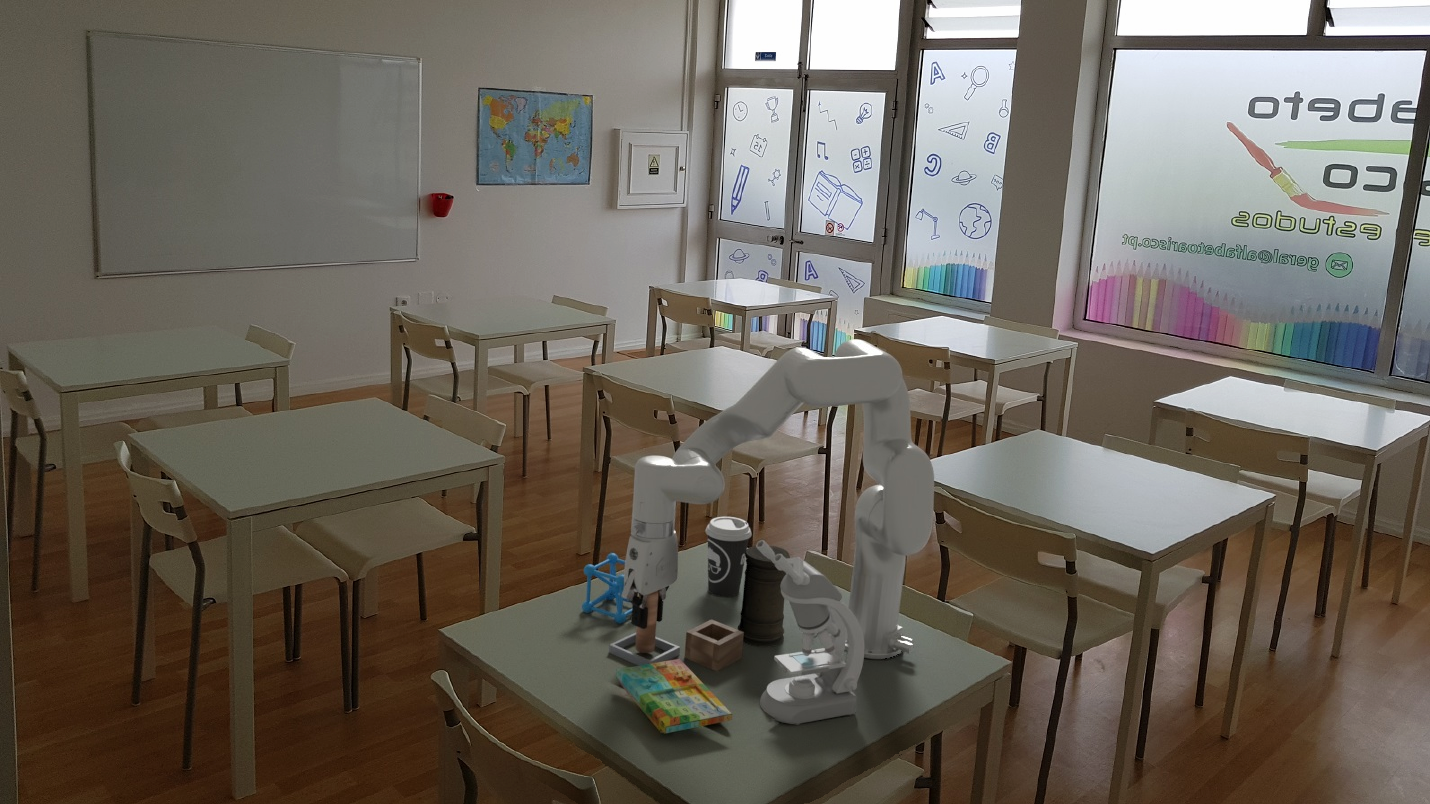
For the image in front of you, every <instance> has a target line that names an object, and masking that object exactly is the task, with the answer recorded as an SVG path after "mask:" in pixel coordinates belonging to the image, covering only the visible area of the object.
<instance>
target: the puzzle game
mask: <svg viewBox="0 0 1430 804" xmlns="http://www.w3.org/2000/svg"><path fill="white" fill-rule="evenodd" d="M615 671H616V673H615V677H616V679H617V680H618V681H617V682H619V684H620V685H621V686H622V688H623V689H624V691H625V692H626V693H627V694H628V696H629V697H630V698H631V699H632V701H634V703H635V704H636V705H637V706H638V708H640V709H641V711H642V712H643V713H644V714H645V717H647V718H648V719H649V720H650V722H651V723H652V724H653V725H654V726H655V727H656V729H657V730H658V731H659V732H660V734H671V733H674V732H678V731H679V732H680V731H685V730H688V729H694V728H699V727H704V726H709V725H714V724H719V723H725V722H729V721H732V720H733V713H732V712H731V711H730V710H729V709H728V708H727V707H726V706H725V705H724V704H723V702H721V701H720V699H718V697H717V696H716V695H715V694H714V693H713V692H712V691H711V690H710V689H709V688H708V687H707V685H705V684H704V683H703V682H702V680H700V678H699V677H697V676H696V674H695V673H694V672H693V671H692V670H691V669H690V668H689V666H687V665H686V663H684V662H683V661H682V659H680V658H676V659H670V660H668V661H664V662H658V663H652V664H646V665H640V666H638V665H635V666H630V667H629V666H628V667H623V668H617V669H616V670H615Z"/></svg>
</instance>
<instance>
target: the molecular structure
mask: <svg viewBox="0 0 1430 804" xmlns="http://www.w3.org/2000/svg"><path fill="white" fill-rule="evenodd" d="M617 563H618V564H621V565H624V566H625V560H623V559H620V558H619V556H618V555H617V554H616V553H614V552H610V553H609V554H608V555H607V556H606V559H605V560H604V561H602V562H599V563H598V564H595V565H593V564H591V563H590V564H587V565H585V566H584V568H583V573H584V575H585V576H587V577H586V578H587V579H586V581H587V582H586V583H587V584H586V597H585V598H586V599H585V600H584V602H582V604H581V609H582V611H583V612H584V613H587V614H588V613H589V612H590V613H592V611H593V612H597V613H599V614H602V615H606V616H609V617H611V618H613V620H614V622H615V623H616V624H623V623H625V622H626V619H627V617H628V616H629V615H630V614H631V615H632V608H631V609H628V610H627V611H625V612H624V611H623V606H624V603H623V602H626V603H629V604H630V601H629V600H627V599H625V598H622V596H621V595H622V592H623V590H624V587H625V586H624V573H623V574H619V575H617V570H616V564H617ZM608 564H609V573H605V572H603V571H600V570H598V569H599V568H601V567H603V566H605V565H608ZM593 576H595V577H596V578H597V579H599V580H601V581H602V582H603V583H605V584H606V585H608V589H606V590H605V592H604V593H603V594H601V595H600V596H599V597H597V598H596V599H594V600H593V601H591V588H592V587H591V586H592V577H593ZM605 600H607V601H613V600H615V604H616V612H615V613H613V612H611V611H608V610H605V609H601V608H598V607H596V605H597V604H599V603H601V602H603V601H605Z"/></svg>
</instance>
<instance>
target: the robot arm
mask: <svg viewBox="0 0 1430 804" xmlns="http://www.w3.org/2000/svg"><path fill="white" fill-rule="evenodd" d="M804 404H805V405H807V406H810V407H816V408H817V407H820V408H825V407H826V408H828V407H829V408H830V407H839V406H850V405H860V404H862V405H861V406H862V413H863V414H862V415H863V439H862V440H863V441H862V442H863V444H862V445H863V446H862V463H863V468H864V471H865V473H866V474H868V476H869V478H871V479H872V480H874V481H875V482H876V483H877V484H876V485H875V484H874V485H872V486H870V487H868V488H866V489H865V490H864V491H863V492H862V493H861V494H860V496H859V497H858V499H857V501H856V505H855V509H854V510H855V512H854V526H855V527H854V528H855V545H854V557H853V558H854V559H853V565H852V567H853V568H852V576H851V583H850V593H849V602H848V608H849V609H850V610H851V611H852V613H853V614H854V616H855V617H856V619H857V621H858V623H859V625H860V627H861V630H862V633H863V638H864V658H865V659H871V660H884V659H885V658H887V659H891V658H890V657H892V658H894V657H893V656H895V655H897V654H899V655H900V654H902V652H903V653H906V654H909V655H911V654H912V653H913V651H914V649H915V645H914V642H915V640H914V639H913V638H911V637H907V636H904V635H903V633H902V632H903V626H901V625H899V615H900V609H901V607H900V606H901V599H902V592H903V582H904V574H905V568H906V556H907V557H908V556H909V557H910V556H912V555H915V554H917V553H919V552H920V551H922V550H923V548H924V547H926V545H927V544H928V542H929V540H930V537H931V534H932V530H933V523H934V522H933V521H934V520H933V519H934V501H935V499H934V497H935V491H934V490H935V473H934V467H933V464H932V462H931V459H930V457H929V455H928V454H927V453H926V452H925V451H924V450H923V449H922V448H920V447H919V446H918V445H917V444H915V443H914V442H913V440H912V427H911V426H912V425H911V424H912V422H911V421H912V420H911V416H912V415H911V399H910V395H909V391H908V387H907V385H906V382H905V379H904V378H903V369H902V366H901V365H900V362H899V361H898V360H897V359H896V358H895V357H894V356H893V355H892V354H890V353H888V352H886V351H884V350H882V349H880V348H878V347H877V346H875V345H873V344H872V343H870V342H868V341H865V340H863V339H858V338H857V339H853V338H852V339H848V340H845V341H844V342H842V343H841V344H840V345H839V346H838V347H837V348H836V351H835V353H834V357H824V356H823V355H821V354H819V353H818V352H815V351H813V350H812V349H808V348H806V347H800V346H799V347H794V348H791V349H789V350H788V351H786V352H785V353H784V354H782V355H781V356H780V357H779V358H778V359H777V361H775V363H774V364H772V365H771V367H770V368H769V369H768V370H767V371H766V372H765V373H764V374H763V375H762V376H761V377H760V378H759V379H758V380H757V381H756V383H754V385H753V386H752V387H751V388H750V389H748V391H747V392H745V394H744V395H743V396H742V397H741V398H740V399H739V400H738V401H736V403H734V404H733V405H731V406H728V407H727V408H725V409H724V410H722V411H721V412H719V413H718V414H716V415H714V416H712V417H710V418H709V419H708V420H706V421H705V422H703V423H702V424H701V425H700V426H698V427H697V428H696V430H695V431H693V432H692V433H691V435H690V436H688V437H687V439H686V440H685V441H684V442H682V444H681V445H680V446H679V447H678V448H677V450H676V451H675V452H674V454H673V455H672V457H671V458H670V457H667V456H663V455H646V456H643V457H641V458H639V459H637V461H636V463H635V466H634V477H633V479H634V481H633V495H632V497H633V499H632V514H631V526H630V527H631V528H630V534H631V535H630V536H629V538H628V539H629V540H628V542H627V543H628V545H627V549H626V555H625V560H624V561H625V565H624V571H623V575H624V590H623V592H622V595H621V596H622V598H625V599H627V600H629V601H630V603H629V604H630V605H632V606H631V607H632V608H631V609H632V613H631V619H630V621H631V624H632V626H635V627H636V628H637V627H640V628H642V629H645V628H647V619H648V608H647V607H646V602H647V596H648V594H651V593H653V592H656V591H658V607H657V622H658V623H661V622H662V621H663V615H664V614H663V611H664V610H663V609H664V601H665V600H666V598H667V592H668V590H669V588H670V586H671V585H673V584H674V583H675V582H676V581H677V579H678V573H679V570H678V569H679V546H678V544H679V542H678V536H677V532H676V530H675V523H676V509H677V508H676V507H677V502H680V503H687V504H692V505H707V504H708V505H709V504H712V503H714V502H715V501H717V500H718V499H720V497H721V496H722V495H723V494H724V493H723V492H724V491H725V487H726V486H725V485H726V483H725V477H724V475H723V473H722V472H721V470H720V469H719V467H718V466H717V463H718V462H719V461H720V460H721V459H723V457H724V456H725V455H726V454H727V453H728V452H730V451H731V450H733V449H734V448H737V446H739V445H742V444H743V443H747V442H752V441H760V440H764V439H769V438H770V437H772V436H773V435H775V434H776V433H777V431H778V430H779V429H780V428H782V426H783V425H784V424H785V422H787V421H788V420H789V418H790V417H791V416H792V415H793V414H795V412H796V411H797V410H799V408H801V406H803V405H804ZM639 594H641V599H640V598H639ZM848 650H849V637H848V633H847V630H846V644H845V650H844V652H847V653H848ZM901 651H902V652H901ZM897 656H898V655H897ZM895 657H896V656H895ZM885 660H886V659H885Z"/></svg>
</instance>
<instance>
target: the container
mask: <svg viewBox="0 0 1430 804" xmlns="http://www.w3.org/2000/svg"><path fill="white" fill-rule="evenodd" d="M768 545H769V544H768ZM769 546H770V547H771V549H772V550H773V552H774V553H775V555H777V554H782V555H783V556H784V557H785V558H786V559H788V558H791V555H790V553H789V551H787V549H784V548H782V547H779V546H775V545H769ZM745 563H746V566H745V571H744V582H743V595H742V603H741V604H742V605H741V611H740V622H739V624H738V626H737V630H739V631H742V632H744V636H743V644H746V645H748V646H753V647H758V648H759V647H760V648H767V647H768V648H770V647H775V646H778V645H780V644H782V643H783V642H784V639H785V635H784V634H785V629H784V626H783V625H784V619H785V615H784V611H785V610H784V609H785V600H786V599H785V598H784V597H783V596H782V593H781V588H780V585H781V582H782V580H783V578H784V577H785V575H786V574H787V573H785V571H783V570H778V569H777V568H776V567H775V564H774V563H773V562H772V561H771V560H770V559H768V558H767V557H765V556H764V555H763V554H762V553H761V552H760V551H759V550H758V549H757V548H756V545H753V546H750V547H747V550H746V552H745Z"/></svg>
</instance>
